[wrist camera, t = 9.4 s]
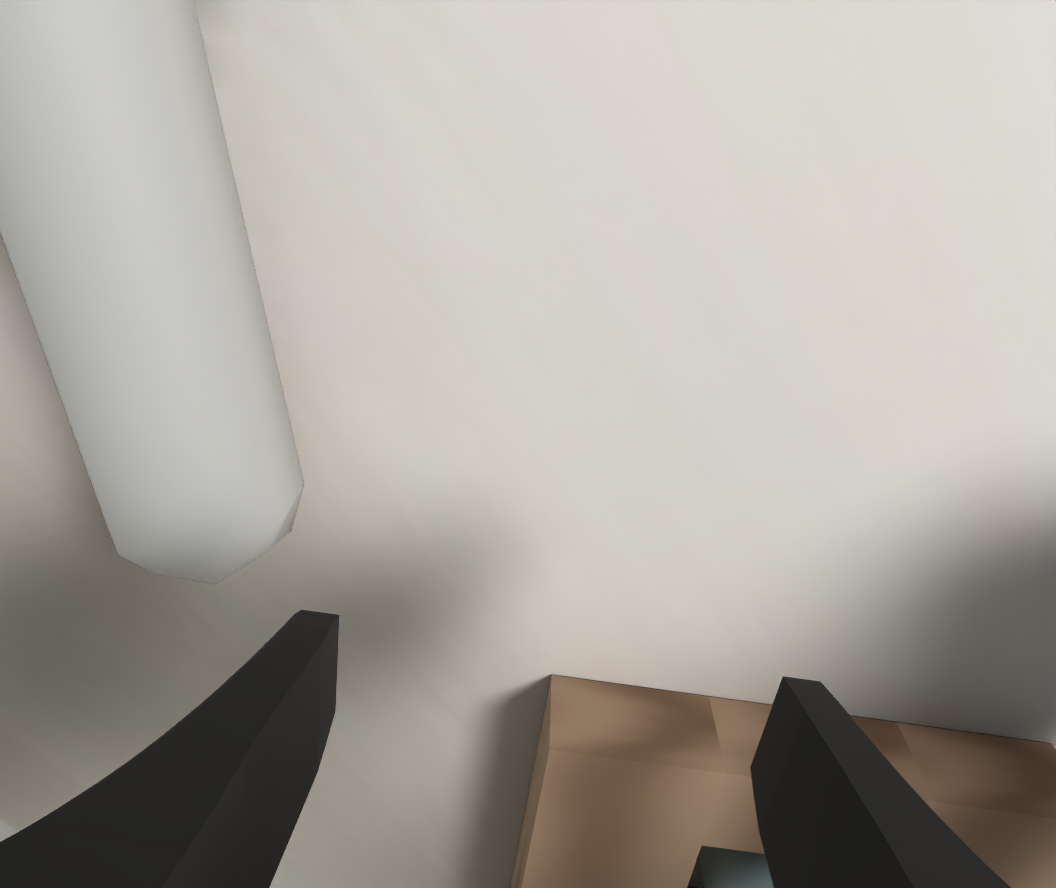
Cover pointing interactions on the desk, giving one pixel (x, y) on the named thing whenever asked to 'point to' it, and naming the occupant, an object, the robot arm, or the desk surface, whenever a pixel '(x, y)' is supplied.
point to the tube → (144, 280)
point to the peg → (733, 868)
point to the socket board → (743, 788)
